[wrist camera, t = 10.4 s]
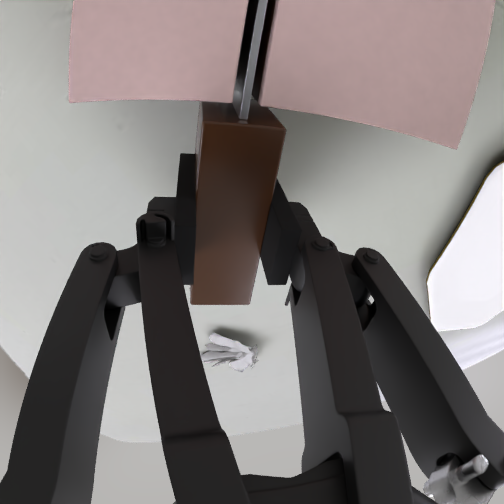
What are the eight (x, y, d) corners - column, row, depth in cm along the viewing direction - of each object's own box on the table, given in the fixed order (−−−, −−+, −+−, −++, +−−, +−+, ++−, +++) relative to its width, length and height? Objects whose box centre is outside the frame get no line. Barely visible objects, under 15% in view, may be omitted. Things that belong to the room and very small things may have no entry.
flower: (201, 368, 34) (199, 390, 32) (167, 329, 29) (163, 354, 27) (268, 360, 32) (269, 383, 30) (245, 318, 27) (245, 345, 25)
